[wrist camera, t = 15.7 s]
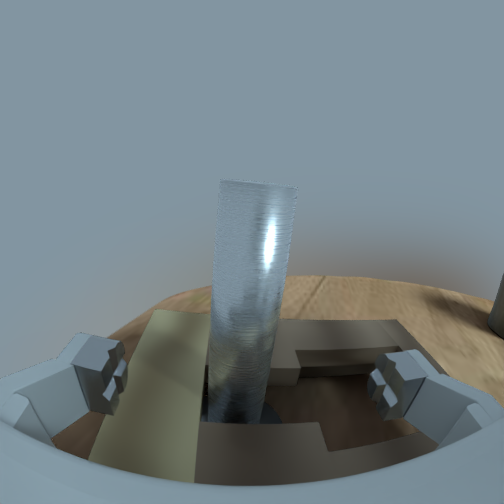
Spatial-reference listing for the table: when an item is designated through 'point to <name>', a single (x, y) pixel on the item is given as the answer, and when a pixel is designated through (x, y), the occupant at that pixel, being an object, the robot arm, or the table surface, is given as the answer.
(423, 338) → the table surface
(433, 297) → the table surface
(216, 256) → the footed peg
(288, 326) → the keyhole plate
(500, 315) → the pillar candle
